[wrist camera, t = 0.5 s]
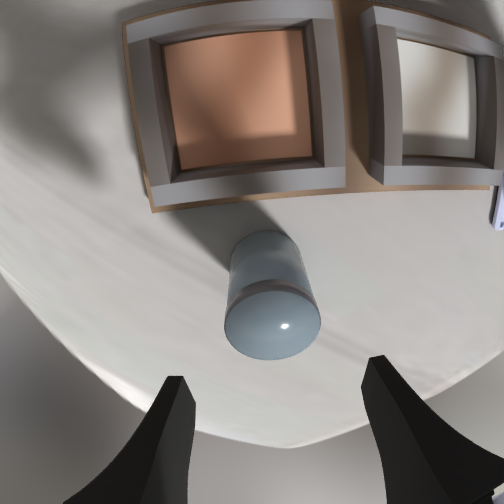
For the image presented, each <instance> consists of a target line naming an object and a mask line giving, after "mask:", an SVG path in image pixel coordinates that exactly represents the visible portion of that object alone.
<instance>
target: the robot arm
mask: <svg viewBox="0 0 504 504" xmlns="http://www.w3.org/2000/svg"><path fill="white" fill-rule="evenodd" d="M492 227H493V228H494V229H495V230H504V167H503V175H502V183H501V186H499V189H498V196H497V202H496V207H495V212H494V217H493V222H492ZM361 390H362V395H363V400H364V405H365V409H366V412H367V416H368V419H369V422H370V425H371V428H372V431H373V434H374V437H375V440H376V443H377V446H378V449H379V453H380V457H381V461H382V467H383V473H384V479H385V487H386V497H387V504H504V492H503V493H501V494H499V495H497V496H495V497H493V498H492V496H493V495H494V489H495V488H496V487H498V486H500V485H501V484H502V483H504V458H501V457H499V456H497V455H495V454H493V453H491V452H489V451H487V450H485V449H483V448H481V447H480V446H478V445H476V444H475V443H473V442H472V441H470V440H469V439H467V438H466V437H464V436H463V435H461V434H460V433H459V432H457V431H456V430H454V428H452V427H451V426H450V425H448V424H447V423H446V422H445V421H444V420H443V419H441V418H440V417H439V416H438V415H437V414H436V413H435V412H434V411H433V410H432V409H431V408H430V407H429V406H428V405H427V404H426V403H425V402H424V401H423V400H422V399H421V398H420V397H419V396H418V395H417V394H416V392H415V391H414V390H413V389H412V388H411V387H410V386H409V385H408V383H407V382H406V381H405V380H404V379H403V378H402V376H401V375H400V374H399V373H398V372H397V370H396V369H395V368H394V367H393V365H392V364H391V363H390V362H389V360H388V359H387V358H386V357H385V356H384V355H381V356H376V357H371V358H369V361H368V364H367V368H366V372H365V375H364V378H363V382H362V385H361ZM195 414H196V402H195V400H194V398H193V396H192V394H191V392H190V390H189V388H188V386H187V383H186V381H185V379H184V377H183V376H168V377H167V378H166V380H165V382H164V384H163V385H162V387H161V389H160V391H159V393H158V395H157V397H156V398H155V400H154V402H153V404H152V405H151V407H150V409H149V410H148V412H147V414H146V416H145V417H144V419H143V420H142V422H141V423H140V425H139V426H138V428H137V429H136V431H135V432H134V434H133V435H132V437H131V438H130V440H129V441H128V442H127V444H126V445H125V446H124V447H123V449H122V450H121V451H120V452H119V454H118V455H117V456H116V457H115V458H114V460H113V461H112V462H111V463H110V464H109V465H108V466H107V467H106V468H105V469H104V470H103V471H102V472H101V473H100V474H99V475H98V476H97V477H96V478H95V479H93V480H92V481H91V482H90V483H89V484H88V485H87V486H85V487H84V488H83V489H82V490H80V491H79V492H77V493H76V494H75V495H73V496H72V497H70V498H69V499H68V500H66V501H65V502H63V504H187V486H188V483H187V482H188V469H189V463H190V456H191V449H192V443H193V436H194V429H195Z"/></svg>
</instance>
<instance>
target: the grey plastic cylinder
mask: <svg viewBox="0 0 504 504" xmlns="http://www.w3.org/2000/svg"><path fill="white" fill-rule="evenodd" d="M320 325H321V318H320V314H319V310H318V307H317V303H316V301H315V299H314V297H313V294H312V290H311V287H310V283H309V280H308V277H307V274H306V270H305V267H304V264H303V261H302V257H301V254H300V251H299V249H298V247H297V245H296V244H295V243H294V241H293V240H291V239H290V238H289V237H287V236H286V235H284V234H282V233H279V232H275V231H259V232H255V233H252V234H250V235H248V236H246V237H245V238H243V239H242V240H241V241H240V242H239V243H238V244H237V245H236V247H235V249H234V250H233V253H232V256H231V265H230V277H229V288H228V300H227V308H226V312H225V324H224V329H225V334H226V337H227V339H228V341H229V342H230V344H231V345H232V346H233V347H234V348H235V349H236V350H237V351H239V352H240V353H242V354H244V355H246V356H248V357H251V358H255V359H260V360H279V359H284V358H288V357H291V356H294V355H296V354H298V353H300V352H302V351H303V350H305V349H306V348H307V347H308V346H310V345H311V343H312V342H313V341H314V340H315V338H316V337H317V335H318V333H319V330H320Z"/></svg>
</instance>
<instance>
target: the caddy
mask: <svg viewBox="0 0 504 504" xmlns="http://www.w3.org/2000/svg"><path fill="white" fill-rule="evenodd" d="M122 34H123V46H124V56H125V65H126V74H127V82H128V90H129V97H130V104H131V110H132V116H133V122H134V128H135V134H136V140H137V145H138V150H139V156H140V161H141V166H142V171H143V175H144V180H145V185H146V189H147V194H148V198H149V202H150V207H151V211H152V213H157V212H164V211H171V210H178V209H186V208H194V207H202V206H210V205H218V204H227V203H236V202H246V201H256V200H266V199H277V198H288V197H300V196H313V195H327V194H343V193H360V192H381V191H409V190H489V189H490V185H494V186H501V183H502V175H503V167H504V56H503V49H502V45H500V44H498V43H496V42H494V41H491V40H490V37H489V36H487V35H485V34H482V33H480V32H478V31H475V30H473V29H470V28H468V27H465V26H462V25H460V24H457V23H454V22H451V21H448V20H445V19H442V18H439V17H436V16H432V15H429V14H425V13H422V12H418V11H414V10H410V9H406V8H402V7H397V6H392V5H387V4H382V3H376V2H370V1H364V0H216V1H209V2H203V3H197V4H192V5H187V6H182V7H177V8H173V9H168V10H164V11H160V12H156V13H153V14H149V15H146V16H142V17H139V18H135V19H132V20H129V21H126V22H123V23H122Z"/></svg>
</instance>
